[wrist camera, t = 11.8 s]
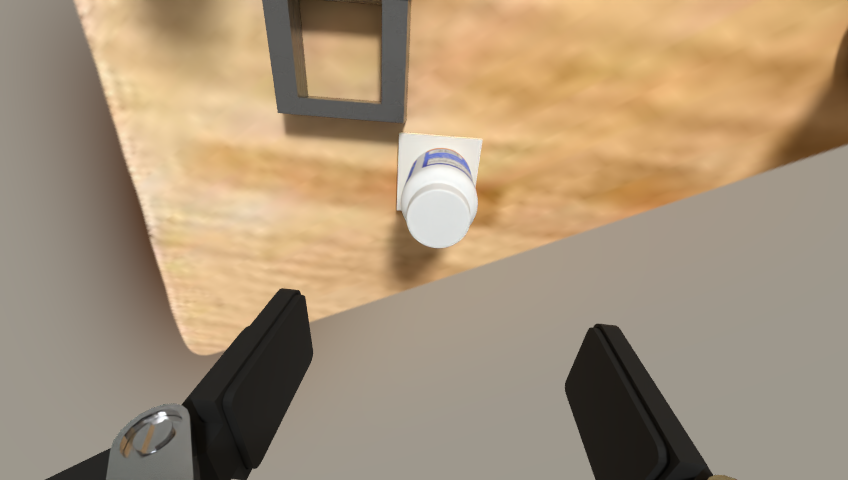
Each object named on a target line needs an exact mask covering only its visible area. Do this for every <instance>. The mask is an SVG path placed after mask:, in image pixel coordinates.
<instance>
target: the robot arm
mask: <svg viewBox="0 0 848 480" xmlns="http://www.w3.org/2000/svg"><path fill="white" fill-rule="evenodd" d="M312 357H313V348H312V341H311V334H310V327H309V320H308V313H307V306H306V299H305V296H304V295H301V293H300V291H299V290H292V289H283V288H282V289H280V290H279V291H278V292H277V293H276V294H275V295H274V297H273V298H272V299H271V300H270V301H269V303H268V304H267V305H266V306H265V308H264V309H263V310H262V311H261V313H260V314H259V315H258V316H257V318H256V319H255V320H254V321H253V323H252V324H251V325H250V326H248V327H246V328H245V329H244V330H243V331H242V332H241V333H240V334H239V335H238V337H237V338H236V339H235V340H234V341H233V343H232V344H231V345H230V346H229V348H228V349H227V350H226V351H225V352H224V354H223V355H222V356H221V357H220V359H219V360H218V361H217V362H216V363H215V365H214V366H213V367H212V368H211V369H210V371H209V372H208V373H207V374H206V376H205V377H204V378H203V379H202V380H201V382H200V383H199V384H198V385H197V387H196V388H195V389H194V390H193V391H192V393H191V394H190V395H189V396H188V397H187V399H186V400H185V401H184V402H183V404H182V405H179V404H163V405H160V406H157V407H154V408H151V409H149V410H147V411H145V412H143V413H141V414H140V415H138V416H137V417H136V418H134V419H133V420H131V421H130V422H129V423H128V424H127V425H126V426H125V427H124V428H123V429H122V430H121V431H120V432H119V434H118V436H117V437H116V438H115V439H114V441H113V444H112V447H111V448H110V449H108V450H106V451H104V452H101V453H99V454H97V455H95V456H93V457H91V458H89V459H87V460H85V461H83V462H81V463H79V464H77V465H75V466H73V467H70V468H68V469H66V470H64V471H62V472H60V473H58V474H56V475H54V476H52V477H50V478H48V479H46V480H231V479H238V480H247V478H248V476H249V474H250V472H251V470H252V468H253V469H255V468H257V467H258V466H259V465H260V463H261V462H262V460H263V458H264V456H265V454H266V452H267V450H268V447H269V445H270V444H271V441H272V440H273V437H274V435H275V434H276V432H277V430H278V427H279V425H280V423H281V421H282V419H283V417H284V415H285V413H286V411H287V409H288V407H289V405H290V403H291V401H292V399H293V397H294V395H295V393H296V391H297V389H298V387H299V385H300V383H301V381H302V379H303V377H304V375H305V373H306V371H307V369H308V367H309V365H310V363H311V361H312ZM565 392H566V395H567V398H568V401H569V404H570V407H571V410H572V413H573V416H574V418H575V421H576V424H577V427H578V430H579V433H580V436H581V439H582V442H583V444H584V448H585V450H586V453H587V456H588V459H589V462H590V465H591V467H592V471H593V474H594V476H595V479H596V480H737V479H735V478H732V477H728V476H725V475H714V476H713V474H712V473H711V471H710V470H709V468H708V466H707V464H706V463H705V461H704V459H703V458H702V456H701V455H700V453H699V452H698V450H697V449H696V447H695V446H694V444H693V442H692V441H691V439H690V438H689V436H688V434H687V433H686V431H685V430H684V428H683V427H682V425H681V423H680V422H679V420H678V419H677V417H676V416H675V414H674V413H673V411H672V409H671V408H670V406H669V405H668V403H667V402H666V400H665V399H664V397H663V395H662V394H661V392H660V391H659V389H658V388H657V386H656V384H655V383H654V381H653V380H652V378H651V377H650V375H649V374H648V372H647V371H646V369H645V367H644V366H643V364H642V363H641V361H640V359H639V358H638V356H637V355H636V353H635V352H634V350H633V349H632V347H631V345H630V344H629V343H628V341H627V339H626V338H625V336H624V335H623V333H622V331H621V330H620V329H619V327H617V326H614V325H605V324H596V325H595V326H594V327H593V328H589V330H588V332H587V334H586V336H585V338H584V340H583V343H582V345H581V347H580V350H579V352H578V354H577V357H576V359H575V361H574V364H573V366H572V368H571V371H570V373H569V375H568V377H567V380H566V383H565Z"/></svg>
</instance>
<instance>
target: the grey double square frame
mask: <svg viewBox="0 0 848 480" xmlns="http://www.w3.org/2000/svg"><path fill="white" fill-rule="evenodd" d="M326 1H340V2H353V3H367V4H380V5H382V102H377V101H364V100H352V99H340V98H327V97H315V96H308V91H307V81H306V70H305V60H304V49H303V39H302V28H301V18H300V7H299V0H262V2H263V9H264V16H265V23H266V31H267V38H268V45H269V52H270V59H271V67H272V74H273V81H274V88H275V95H276V102H277V110H278V113H285V114H297V115H309V116H321V117H334V118H346V119H358V120H370V121H382V122H395V123H404V122H405V121H406V117H407V92H408V68H409V43H410V18H411V0H326Z"/></svg>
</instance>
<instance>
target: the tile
mask: <svg viewBox="0 0 848 480" xmlns="http://www.w3.org/2000/svg"><path fill="white" fill-rule="evenodd" d="M481 146H482V139H480V138H467V137H455V136H443V135H431V134H419V133H407V132H400V133H399V155H398V187H397V210H400V211H402V210H401V195H402V191H403V188H404V186H405V183H406V180H407V178H408V175H409V172H410V170H411V167H412V165H413V163H414V162H415V160H416V159H417V158H418V157H419V156H420V155H421V154H423V153H424V152H426V151H428V150H431V149H434V148H448V149H451V150H454V151H456V152H457V153H459V154H460V155H461V156H462V157H463V158H464V159H465V161H466V162H467V164H468V166H469V168H470V171H471V175H472V179H473V182H474V185H475V186H476V179H477V173H478V166H479V160H480V153H481Z"/></svg>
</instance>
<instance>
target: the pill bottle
mask: <svg viewBox="0 0 848 480" xmlns="http://www.w3.org/2000/svg"><path fill="white" fill-rule="evenodd" d="M477 207H478V199H477V193H476V189H475V185H474V182H473V179H472V175H471V171H470V168H469V166H468V164H467V162H466V161H465V159H464V158H463V157H462V156H461V155H460V154H459V153H457V152H456V151H454V150H451V149H448V148H434V149H431V150H428V151H426V152H424V153H423V154H421V155H420V156H419V157H418V158H417V159H416V160H415V162H414V163H413V165H412V167H411V170H410V172H409V175H408V178H407V180H406V183H405V186H404V188H403V191H402V195H401V210H402V213H403V216H404V218H405V220H406V222H407V226H408V229H409V231H410V233H411V235H412V236H413V237H414V238H415V239H416V240H417V241H418V242H420V243H421V244H423V245H425V246H428V247H432V248H445V247H449V246H452V245H454V244H456V243H457V242H459V241H460V240H461V239H462V238H463V237H464V236H465V234H466V233H467V231H468V229H469V226H470V224H471V223H472V221H473V220H474V217H475V215H476V212H477Z"/></svg>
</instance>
